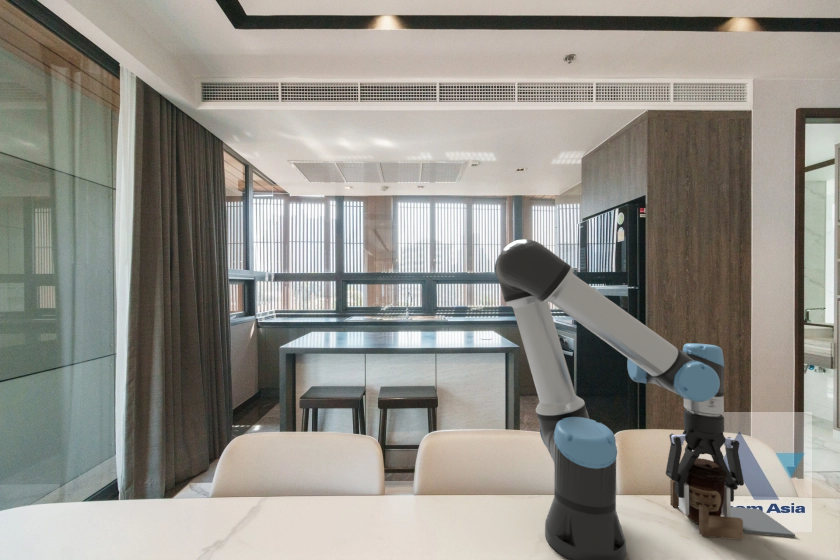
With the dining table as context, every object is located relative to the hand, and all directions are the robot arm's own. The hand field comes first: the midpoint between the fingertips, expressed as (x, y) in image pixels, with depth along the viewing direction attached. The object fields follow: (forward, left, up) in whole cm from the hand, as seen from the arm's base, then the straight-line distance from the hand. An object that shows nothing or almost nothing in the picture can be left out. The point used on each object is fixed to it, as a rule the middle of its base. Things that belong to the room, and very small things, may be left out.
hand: (704, 513), depth 88 cm
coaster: (+11, +2, -2) cm, 11 cm away
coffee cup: (0, 0, -2) cm, 2 cm away
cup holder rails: (0, 0, -2) cm, 2 cm away
